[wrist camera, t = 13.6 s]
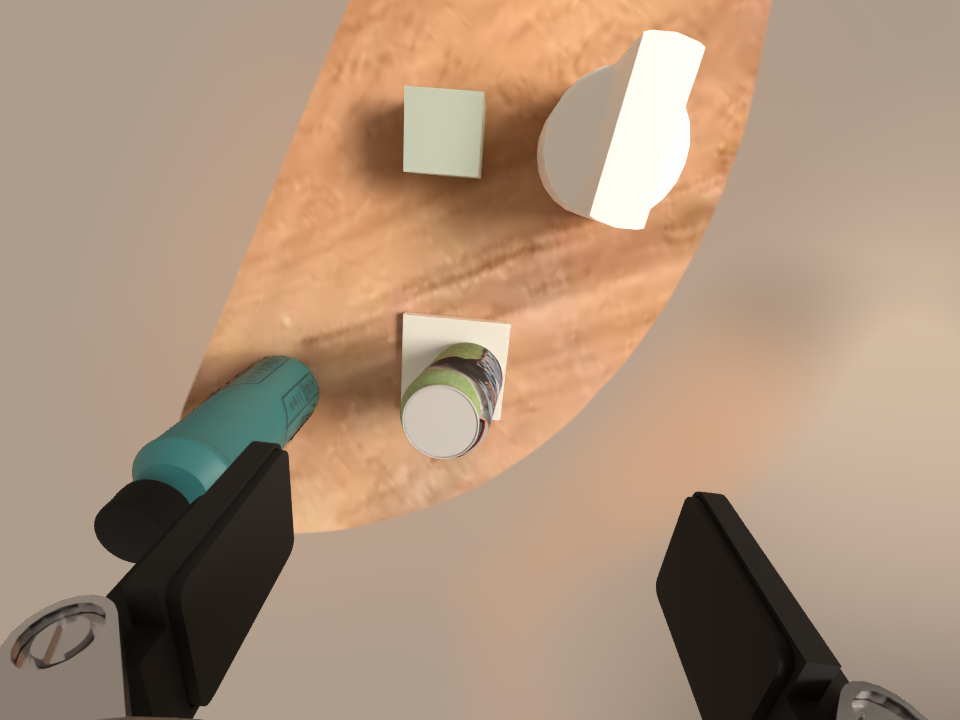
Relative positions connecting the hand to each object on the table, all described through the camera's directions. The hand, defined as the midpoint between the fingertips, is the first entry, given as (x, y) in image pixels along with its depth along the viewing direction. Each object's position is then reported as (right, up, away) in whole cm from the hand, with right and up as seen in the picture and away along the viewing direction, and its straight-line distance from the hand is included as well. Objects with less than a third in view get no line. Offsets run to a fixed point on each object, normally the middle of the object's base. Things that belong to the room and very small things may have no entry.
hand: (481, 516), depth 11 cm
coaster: (-2, +3, +30) cm, 30 cm away
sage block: (-2, +20, +24) cm, 31 cm away
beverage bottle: (-17, +2, +31) cm, 36 cm away
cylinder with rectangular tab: (+9, +19, +24) cm, 32 cm away
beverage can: (-2, +3, +29) cm, 29 cm away
